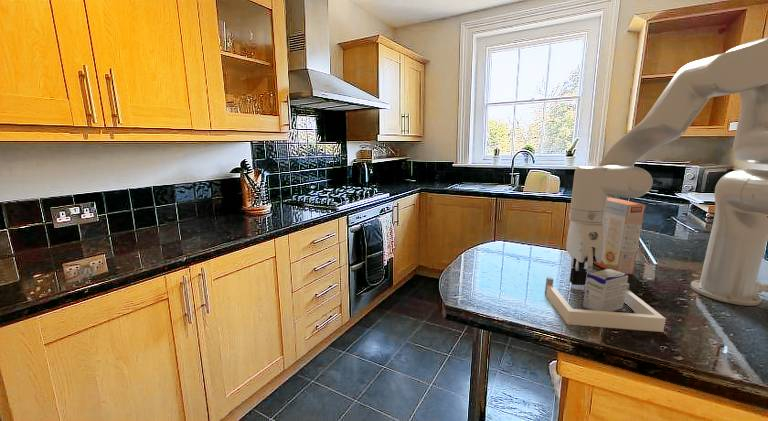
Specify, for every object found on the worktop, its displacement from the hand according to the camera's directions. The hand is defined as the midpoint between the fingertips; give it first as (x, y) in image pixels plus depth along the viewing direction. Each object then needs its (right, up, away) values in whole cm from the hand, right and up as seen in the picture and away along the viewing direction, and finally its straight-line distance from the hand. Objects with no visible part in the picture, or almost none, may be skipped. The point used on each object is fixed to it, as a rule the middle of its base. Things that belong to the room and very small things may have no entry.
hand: (577, 283), depth 87 cm
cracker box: (+18, +2, +16) cm, 24 cm away
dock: (-2, -4, -11) cm, 12 cm away
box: (0, -4, -10) cm, 11 cm away
